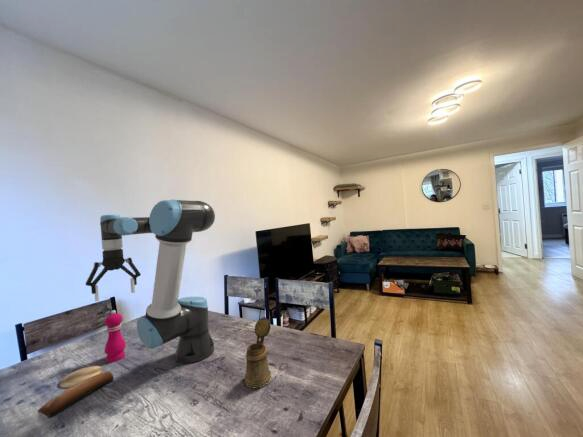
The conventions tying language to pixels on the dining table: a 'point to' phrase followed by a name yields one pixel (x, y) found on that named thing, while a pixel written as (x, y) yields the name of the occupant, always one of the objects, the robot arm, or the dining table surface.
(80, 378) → the coaster
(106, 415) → the dining table surface
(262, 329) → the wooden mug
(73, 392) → the sunglasses case
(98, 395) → the dining table surface
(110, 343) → the pepper mill
